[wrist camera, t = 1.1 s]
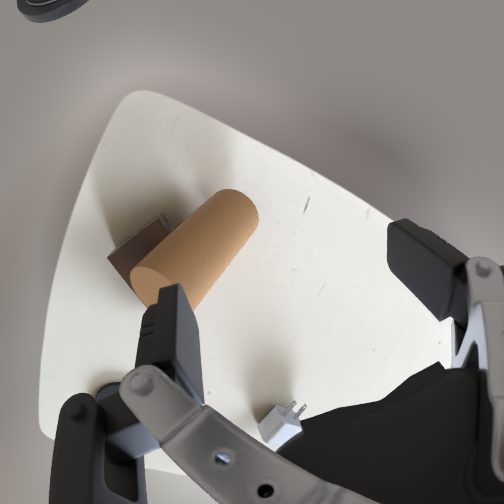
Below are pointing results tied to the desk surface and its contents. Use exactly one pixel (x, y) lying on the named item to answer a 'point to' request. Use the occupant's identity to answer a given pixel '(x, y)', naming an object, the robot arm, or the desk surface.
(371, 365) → the desk surface
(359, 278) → the desk surface
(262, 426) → the usb wall charger
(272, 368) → the desk surface
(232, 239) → the tan cylinder
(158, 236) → the walnut block
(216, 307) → the desk surface
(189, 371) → the robot arm
